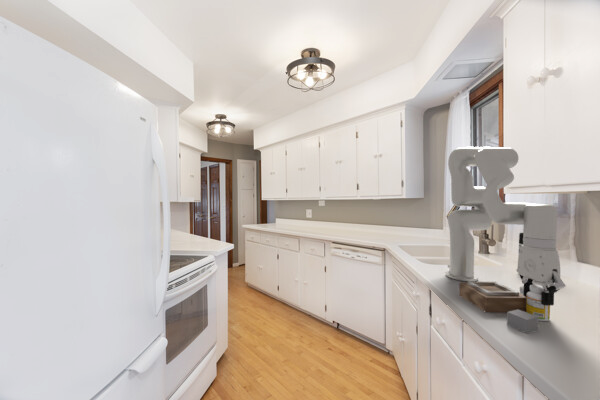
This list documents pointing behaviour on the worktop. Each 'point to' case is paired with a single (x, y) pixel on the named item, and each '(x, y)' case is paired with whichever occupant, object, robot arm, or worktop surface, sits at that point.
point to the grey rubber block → (522, 321)
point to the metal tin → (522, 290)
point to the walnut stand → (492, 297)
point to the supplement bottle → (537, 303)
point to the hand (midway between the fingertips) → (538, 300)
